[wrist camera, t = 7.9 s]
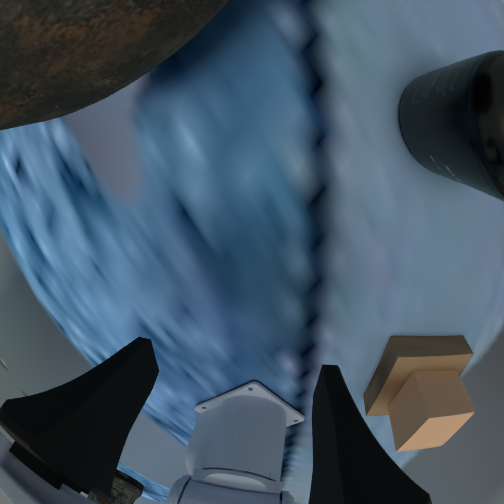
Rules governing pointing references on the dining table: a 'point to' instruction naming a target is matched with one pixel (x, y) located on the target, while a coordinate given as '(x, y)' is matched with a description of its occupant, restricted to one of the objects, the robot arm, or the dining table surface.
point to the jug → (85, 50)
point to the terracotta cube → (429, 409)
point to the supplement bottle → (459, 121)
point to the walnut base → (412, 365)
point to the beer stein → (121, 490)
